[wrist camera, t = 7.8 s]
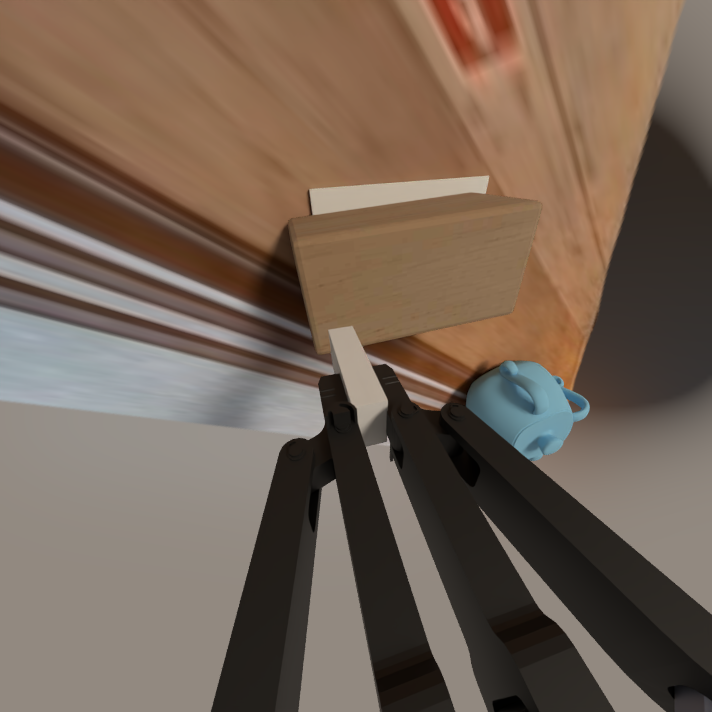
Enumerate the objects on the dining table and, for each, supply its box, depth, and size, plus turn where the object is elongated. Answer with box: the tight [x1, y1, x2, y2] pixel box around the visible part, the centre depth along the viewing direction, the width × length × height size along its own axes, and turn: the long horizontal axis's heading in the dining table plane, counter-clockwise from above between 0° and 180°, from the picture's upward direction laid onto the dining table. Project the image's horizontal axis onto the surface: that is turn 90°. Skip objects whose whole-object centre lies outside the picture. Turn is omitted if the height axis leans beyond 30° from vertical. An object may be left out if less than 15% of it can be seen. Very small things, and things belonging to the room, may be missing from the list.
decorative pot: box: [466, 361, 589, 461], centre depth 45 cm, size 16×16×14 cm
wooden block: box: [288, 192, 542, 355], centre depth 26 cm, size 10×10×20 cm
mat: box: [309, 176, 489, 215], centre depth 31 cm, size 15×19×1 cm
